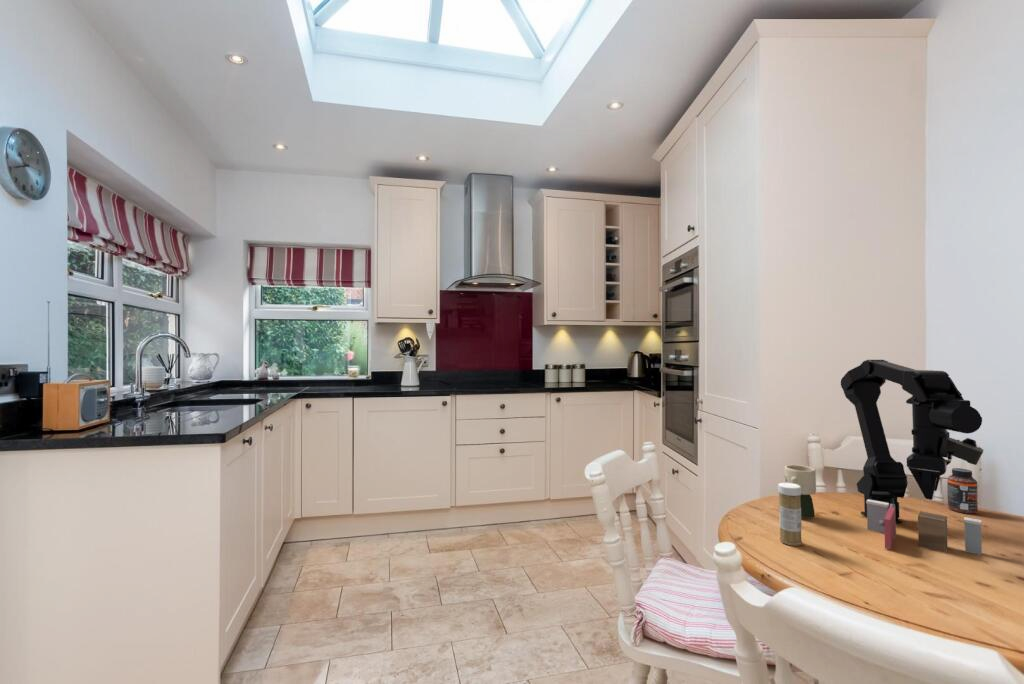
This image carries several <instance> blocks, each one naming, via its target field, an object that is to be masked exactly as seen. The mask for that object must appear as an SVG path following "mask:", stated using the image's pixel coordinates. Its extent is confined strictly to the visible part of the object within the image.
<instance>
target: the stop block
mask: <svg viewBox="0 0 1024 684" xmlns="http://www.w3.org/2000/svg"><path fill="white" fill-rule="evenodd" d="M917 534H918V535H917V536H918V539H917V540H918V541H917V542H918V547H919V548H922V549H927V550H931V551H935V552H940V553H943V554H946V553H947V550H948V547H949V546H948V516H947V515H943V514H940V513H939V514H937V513H933V512H928V511H923V510H922V511H921V510H920V511H919V513H918V515H917Z"/></svg>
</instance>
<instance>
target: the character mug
mask: <svg viewBox="0 0 1024 684" xmlns="http://www.w3.org/2000/svg"><path fill="white" fill-rule="evenodd" d="M816 471H817V470H816V469H815V468H813V467H811V466H807V465H801V464H788V465H787V464H786V465H785V466H784V478H785V482H784V483H793V484H797V485H799V486H800V487H801V497H800V502H801V518H808V519H811V518H812V519H813V518H815V517H816V516H815V515H816V514H815V507H814V501H813V498H812V495H815V494H816V492H817V477H816V476H817V473H816Z"/></svg>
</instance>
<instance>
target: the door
mask: <svg viewBox="0 0 1024 684" xmlns="http://www.w3.org/2000/svg"><path fill="white" fill-rule="evenodd" d="M879 525H880V526H884V527H885V533H884V549H887V550H888V549H889V550H891V549H892V547H893V544H894V541H895V537H896V536H897V531H896V532H895V508H894V507H889V509H888V511H887V514H886V516H885V518H884V521H882V520H880V521H879Z"/></svg>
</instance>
